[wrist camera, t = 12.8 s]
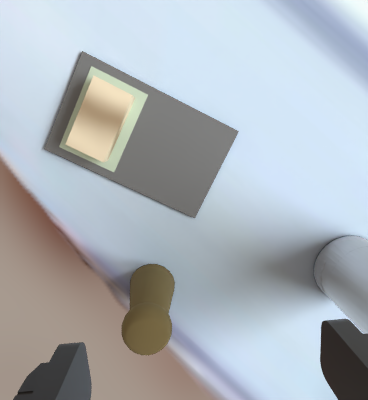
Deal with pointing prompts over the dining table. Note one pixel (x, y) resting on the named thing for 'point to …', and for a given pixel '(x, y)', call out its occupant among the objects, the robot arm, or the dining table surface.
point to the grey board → (148, 140)
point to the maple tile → (100, 119)
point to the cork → (149, 310)
